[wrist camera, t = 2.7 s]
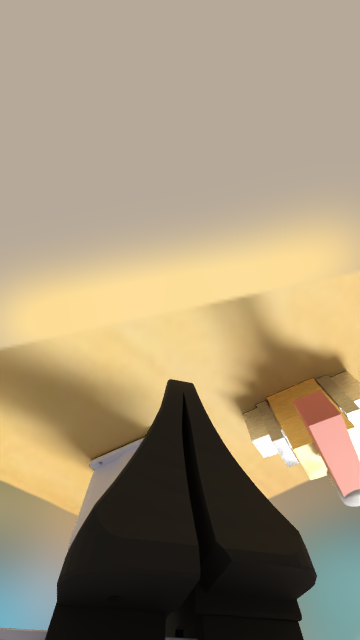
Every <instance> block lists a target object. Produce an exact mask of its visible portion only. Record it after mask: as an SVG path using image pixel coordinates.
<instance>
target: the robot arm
mask: <svg viewBox="0 0 360 640" xmlns="http://www.w3.org/2000/svg"><path fill="white" fill-rule="evenodd" d="M89 466H90V467H91V468H92V469H93V470H94V472H93V475H92V478H91V481H90V483H89V486H88V489H87V492H86V495H85V498H84V501H83V504H82V507H81V509H80V512H79V515H78V518H77V521H76V524H75V527H74V530H73V533H72V536H71V539H70V543H69V548H68V553H67V555H66V558H65V561H64V564H63V567H62V570H61V573H60V576H59V579H58V583H57V603H56V606H55V609H54V613H53V616H52V619H51V622H50V625H49V628H48V631H46V630H45V631H44V630H27V629H11V628H0V640H304V639H303V636H302V633H301V629H300V626H299V623H298V621H301V620H302V615H301V612H300V609H299V606H298V602H297V598H299V597H300V596H301V595H303V594H304V593H305V592H307V591H308V590H309V589H311V588H312V587H313V586H314V584H315V581H316V577H317V575H316V572H315V570H314V567H313V565H312V562H311V559H310V557H309V554H308V551H307V549H306V546H305V544H304V542H303V540H302V538H301V535H300V533H299V531H298V530H297V529H296V528H295V527H294V526H293V525H292V524H291V523H290V522H289V521H288V520H287V519H286V518H285V517H284V516H283V515H282V514H281V513H280V512H279V511H278V510H277V509H276V508H275V507H274V506H273V505H272V504H271V502H270V501H269V500H268V499H267V498H266V497H265V496H264V495H263V493H262V492H261V491H260V490H259V489H258V488H257V487H256V485H255V484H254V483H253V482H252V481H251V479H250V478H249V477H248V476H247V474H246V473H245V472H244V471H243V469H242V468H241V467H240V466H239V464H238V463H237V461H236V460H235V459H234V457H233V456H232V455H231V453H230V452H229V450H228V449H227V447H226V446H225V444H224V443H223V441H222V439H221V438H220V436H219V435H218V433H217V431H216V429H215V428H214V426H213V424H212V422H211V420H210V419H209V417H208V415H207V413H206V411H205V409H204V407H203V405H202V403H201V400H200V398H199V396H198V394H197V391H196V389H195V387H194V385H193V383H188V382H183V381H177V380H172V379H170V380H168V382H167V386H166V390H165V393H164V397H163V401H162V404H161V407H160V410H159V412H158V414H157V416H156V418H155V420H154V422H153V424H152V425H151V427H150V429H149V431H148V432H147V434H146V436H145V437H144V438H142V439H140V440H137V441H135V442H133V443H130V444H128V445H126V446H124V447H121V448H119V449H117V450H114V451H112V452H110V453H108V454H105V455H103V456H101V457H98V458H96V459H94V460H92V461H91V462H90V464H89Z"/></svg>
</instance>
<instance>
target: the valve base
mask: <svg viewBox="0 0 360 640" xmlns="http://www.w3.org/2000/svg"><path fill="white" fill-rule="evenodd" d="M316 381H317V382H316ZM316 381H315V380H314V379H313V378H312V379H309V380H307V381H304V382H302V383H300V384H297V385H295V386H293V387H290V388H288V389H286V390H283V391H281V392H278V393H276V394H274V395H271V396H269V397H267V400H268V401H269V403H268V404H267V402H266V401H263V402H261V403H258V404H256V406H257V408H256V409H254V410H251V411H249V412H247V413H244V414H243V416H244V419H245V422H246V425H247V428H248V431H249V434H250V437H251V440H252V442H253V443H254V445H255V446H256V448H257V449H258V450H259V452H260V453H261V455H262V456H263V458H267V457H270V456H272V455H275V454H278V453H279V454H280V455H281V457H282V458H283V460H284V461H285V463H286V465H287V466H288V467H290V466H293V465H296V464H299V461H298V459H299V460H300V462H301V464H302V466H303V467H304V469H305V471H306V472H307V474H308V476H309V477H310V479H311V480H313V479H316V478H319V477H323V476H326V475H327V474H326V472H327V468H326V466H325V464H324V462H323V460H322V458H321V456H320V454H319V452H318V450H317V448H316V446H315V444H314V442H313V440H312V439H311V437H310V435H309V433H308V431H307V429H306V427H305V425H304V423H303V421H302V419H301V417H300V415H299V413H298V411H297V409H296V407H295V405H294V404H293V402H292V401H295V400H297V399H300V398H302V397H305V396H307V395H310V394H312V393H315V392H317V391H319V390H321V391H322V392H323V393H324V395H325V396H326V397H327V398H328V399H329V400H330V402H331V403H332V404H333V405H334V406H335V407H336V408H337V410H338V411H339V412H340V413H341V414H342V417H343V420H344V422H345V425H346V427H347V430H348V432H349V435H350V437H351V440H352V442H353V445H354V447H355V450H356V452H357V455H358V457H359V460H360V382H359V381H358V380H356V379H355V378H354V377H353V376H352V375H351V374H350V373H348V372H347V371H345V372H343V373H340V374H338V375H336V376H333V377H331V378H330V377H329V376H328V375H325V376H323V377H320V378H318V379H316ZM292 448H293V450H294V452H295V453H294V452H293V450H292ZM295 454H296V455H297V457H298V459H297V457H296V455H295Z"/></svg>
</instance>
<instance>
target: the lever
mask: <svg viewBox="0 0 360 640" xmlns="http://www.w3.org/2000/svg"><path fill="white" fill-rule="evenodd" d="M292 402H293V404H294V405H295V407H296V409H297V411H298V413H299V415H300V417H301V419H302V421H303V423H304V425H305V427H306V429H307V431H308V433H309V435H310V437H311V439H312V440H313V442H314V444H315V446H316V448H317V450H318V452H319V454H320V456H321V458H322V460H323V462H324V464H325V466H326V468H327V472H326V474H327V476H328V478H329V479H330V481H331V483H332V484H333V486H334V488H335V489H336V491H337V493H338V494H339V496H340V498H341V499H342V501H343V503H344V504H345V505H348V506H360V460H359V457H358V455H357V452H356V450H355V447H354V445H353V442H352V440H351V437H350V435H349V432H348V430H347V427H346V425H345V422H344V420H343V417H342V414H341V413H340V412H339V411H338V410H337V408H336V407H335V406H334V405H333V404H332V403H331V402H330V400H329V399H328V398H327V397H326V396H325V395H324V393H323V392H322V391H321V390H319V391H317V392H315V393H312V394H310V395H307V396H305V397H302V398H300V399H297V400H295V401H292Z"/></svg>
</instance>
